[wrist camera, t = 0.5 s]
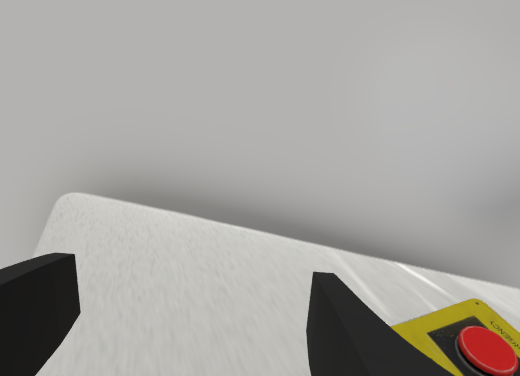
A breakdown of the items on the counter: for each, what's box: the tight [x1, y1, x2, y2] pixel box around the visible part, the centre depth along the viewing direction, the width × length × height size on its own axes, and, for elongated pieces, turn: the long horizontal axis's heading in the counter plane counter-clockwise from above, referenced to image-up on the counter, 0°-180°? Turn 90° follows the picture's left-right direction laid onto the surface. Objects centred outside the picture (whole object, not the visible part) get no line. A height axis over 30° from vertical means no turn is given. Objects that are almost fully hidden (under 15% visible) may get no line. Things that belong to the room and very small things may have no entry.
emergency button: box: [391, 299, 520, 376], centre depth 25 cm, size 9×4×15 cm
